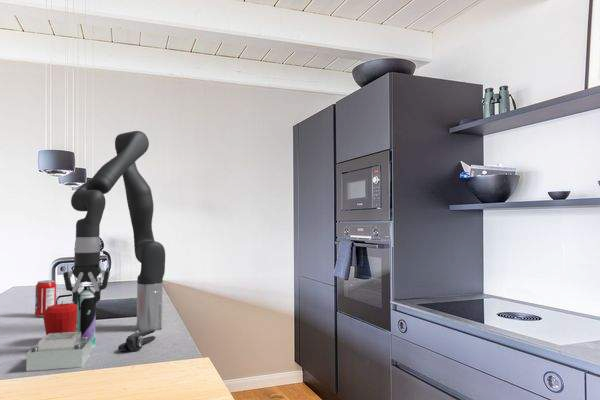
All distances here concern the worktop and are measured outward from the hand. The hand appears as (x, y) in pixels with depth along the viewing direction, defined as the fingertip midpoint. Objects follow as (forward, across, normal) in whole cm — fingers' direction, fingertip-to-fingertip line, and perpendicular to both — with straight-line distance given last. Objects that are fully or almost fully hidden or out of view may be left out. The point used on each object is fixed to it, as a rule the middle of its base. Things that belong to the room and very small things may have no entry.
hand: (86, 302), depth 145 cm
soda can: (+15, +27, -57) cm, 65 cm away
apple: (+15, +10, -11) cm, 21 cm away
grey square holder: (+14, +4, +14) cm, 21 cm away
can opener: (+15, -17, +2) cm, 23 cm away
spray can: (+15, 0, 0) cm, 15 cm away
